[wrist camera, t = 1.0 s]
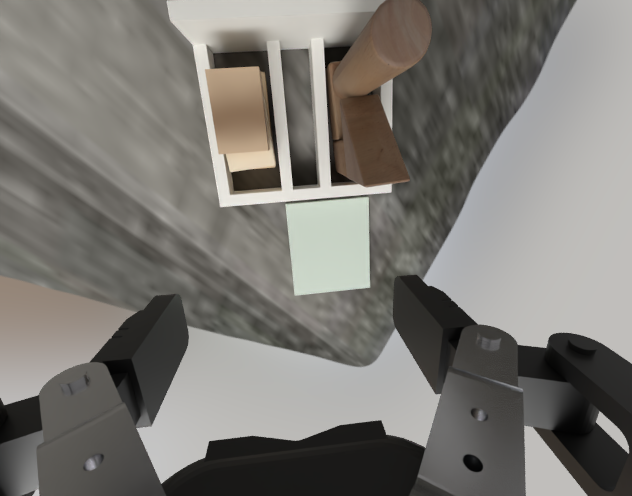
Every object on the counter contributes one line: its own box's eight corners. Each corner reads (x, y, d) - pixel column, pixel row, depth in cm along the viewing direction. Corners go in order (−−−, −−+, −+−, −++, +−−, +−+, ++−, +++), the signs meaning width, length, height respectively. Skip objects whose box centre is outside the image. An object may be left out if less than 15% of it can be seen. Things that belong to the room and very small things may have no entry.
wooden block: (335, 172, 37) (379, 196, 20) (323, 70, 33) (365, -9, 16) (365, 168, 37) (435, 188, 20) (357, 65, 33) (434, -17, 16)
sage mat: (285, 203, 37) (285, 204, 36) (367, 196, 38) (368, 197, 37) (294, 293, 41) (294, 295, 40) (368, 285, 42) (369, 287, 41)
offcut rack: (198, 40, 31) (166, 0, 23) (383, 31, 32) (418, -10, 24) (225, 202, 36) (207, 219, 28) (383, 188, 38) (412, 201, 29)
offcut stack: (220, 80, 32) (197, 57, 24) (267, 78, 33) (262, 54, 24) (233, 168, 35) (217, 176, 27) (277, 165, 36) (274, 171, 27)
